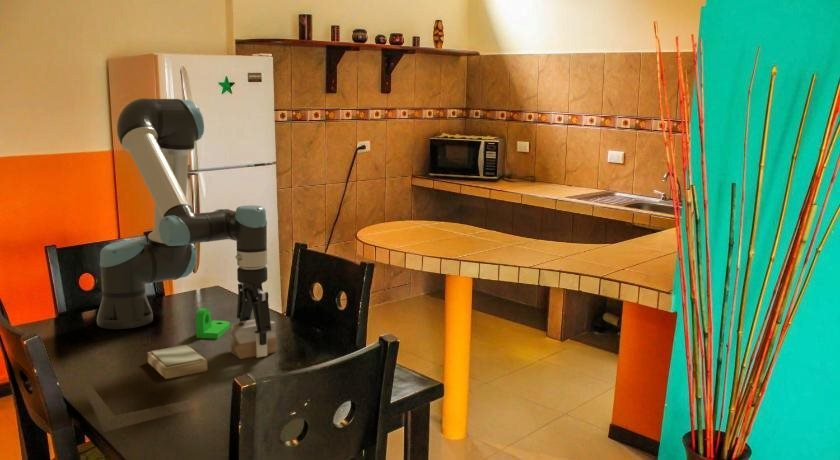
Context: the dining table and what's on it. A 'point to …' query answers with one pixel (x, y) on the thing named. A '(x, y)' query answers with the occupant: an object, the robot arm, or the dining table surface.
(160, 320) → the dining table surface
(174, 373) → the stand
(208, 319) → the mechanical part
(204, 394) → the dining table surface
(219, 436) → the dining table surface
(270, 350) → the block
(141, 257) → the robot arm
